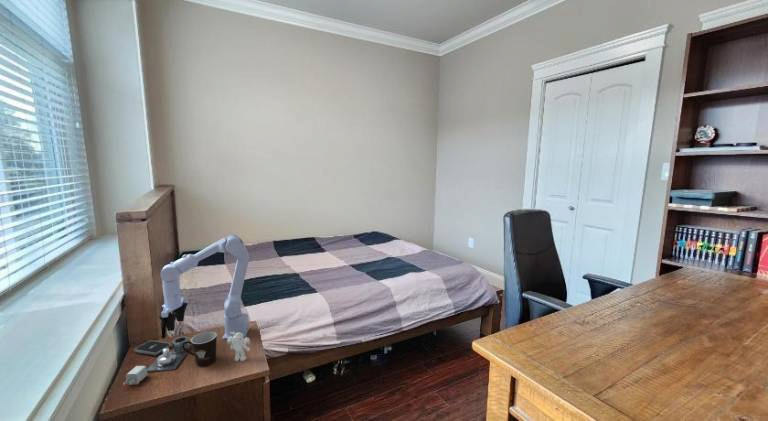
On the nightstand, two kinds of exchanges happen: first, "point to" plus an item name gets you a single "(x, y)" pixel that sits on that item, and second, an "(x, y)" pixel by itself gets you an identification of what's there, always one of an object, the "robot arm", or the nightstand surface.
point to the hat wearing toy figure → (238, 345)
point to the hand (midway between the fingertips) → (175, 325)
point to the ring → (180, 344)
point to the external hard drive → (152, 348)
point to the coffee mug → (203, 348)
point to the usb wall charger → (136, 375)
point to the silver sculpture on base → (166, 361)
